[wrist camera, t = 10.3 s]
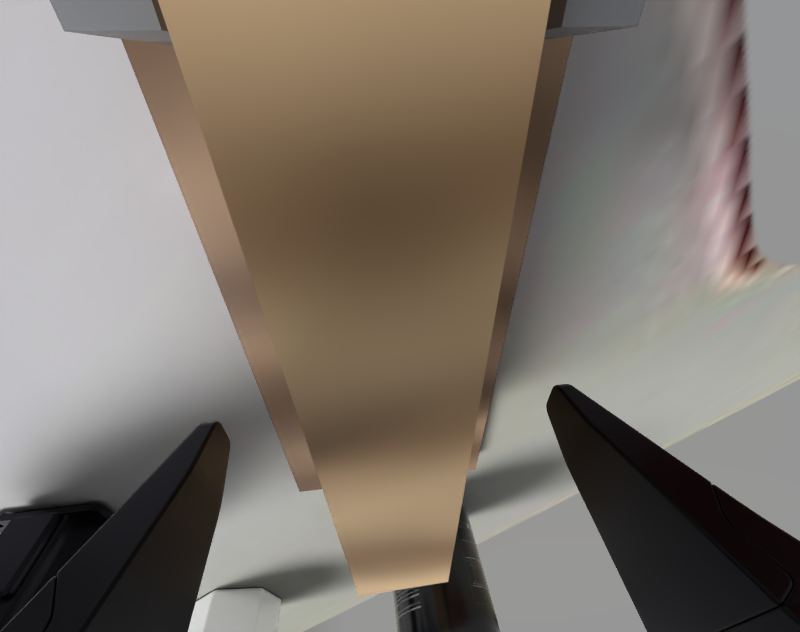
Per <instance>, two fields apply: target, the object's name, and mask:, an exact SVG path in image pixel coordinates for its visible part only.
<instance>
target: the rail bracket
mask: <svg viewBox="0 0 800 632" xmlns="http://www.w3.org/2000/svg"><path fill="white" fill-rule="evenodd" d="M50 2H51V4H52V6H53V8H54V10H55V12H56V15H57V17H58V19H59V21H60V23H61V25H62V27H63V30H64V31H67V32H75V33H82V34H90V35H98V36H105V37H113V38H120V39H122V42H123V44H124V47H125V50H126V52H127V55H128V57H129V60H130V62H131V65H132V67H133V70H134V72H135V75H136V77H137V80H138V83H139V85H140V88H141V90H142V93H143V95H144V98H145V100H146V103H147V105H148V108H149V110H150V113H151V115H152V118H153V121H154V123H155V126H156V128H157V131H158V133H159V136H160V138H161V141H162V143H163V146H164V148H165V151H166V153H167V156H168V159H169V161H170V164H171V166H172V169H173V171H174V174H175V176H176V179H177V181H178V184H179V186H180V189H181V192H182V194H183V197H184V199H185V202H186V204H187V207H188V209H189V212H190V214H191V217H192V219H193V222H194V224H195V227H196V230H197V232H198V235H199V237H200V240H201V242H202V245H203V247H204V250H205V252H206V255H207V257H208V260H209V263H210V265H211V268H212V270H213V273H214V275H215V278H216V280H217V283H218V285H219V288H220V290H221V293H222V295H223V298H224V301H225V303H226V306H227V308H228V311H229V313H230V316H231V318H232V321H233V323H234V326H235V328H236V331H237V333H238V336H239V339H240V341H241V344H242V346H243V349H244V351H245V354H246V356H247V359H248V361H249V364H250V366H251V369H252V372H253V374H254V377H255V379H256V382H257V384H258V387H259V389H260V392H261V394H262V397H263V399H264V402H265V404H266V407H267V410H268V412H269V415H270V417H271V420H272V422H273V425H274V427H275V430H276V432H277V435H278V437H279V440H280V442H281V445H282V448H283V450H284V453H285V455H286V458H287V460H288V463H289V465H290V468H291V470H292V473H293V475H294V478H295V481H296V483H297V486H298V488H299V491H300V492H301V491H309V490H317V489H322V486H321V483H320V480H319V477H318V474H317V471H316V468H315V465H314V462H313V459H312V456H311V453H310V451H309V448H308V445H307V442H306V439H305V436H304V433H303V430H302V427H301V424H300V421H299V418H298V415H297V412H296V409H295V406H294V403H293V400H292V397H291V394H290V391H289V388H288V385H287V382H286V379H285V376H284V373H283V370H282V367H281V364H280V361H279V358H278V356H277V353H276V350H275V347H274V344H273V341H272V338H271V335H270V332H269V329H268V326H267V323H266V320H265V317H264V314H263V311H262V308H261V305H260V302H259V299H258V296H257V293H256V290H255V287H254V284H253V281H252V278H251V275H250V272H249V269H248V266H247V264H246V261H245V258H244V255H243V252H242V249H241V246H240V243H239V240H238V237H237V234H236V231H235V228H234V225H233V222H232V219H231V216H230V213H229V210H228V207H227V204H226V201H225V198H224V195H223V192H222V189H221V186H220V183H219V180H218V177H217V174H216V171H215V169H214V166H213V163H212V160H211V157H210V154H209V151H208V148H207V145H206V142H205V139H204V136H203V133H202V130H201V127H200V124H199V121H198V118H197V115H196V112H195V109H194V106H193V103H192V100H191V97H190V94H189V91H188V88H187V85H186V82H185V79H184V77H183V74H182V71H181V68H180V65H179V62H178V59H177V56H176V53H175V50H174V47H173V44H172V41H171V38H170V35H169V32H168V29H167V26H166V23H165V20H164V17H163V14H162V11H161V8H160V5H159V2H158V0H50ZM644 3H645V0H551V3H550V9H549V14H548V20H547V26H546V31H545V37H544V43H543V48H542V54H541V60H540V65H539V71H538V77H537V82H536V88H535V94H534V99H533V105H532V111H531V116H530V122H529V127H528V133H527V139H526V144H525V150H524V156H523V161H522V167H521V173H520V178H519V184H518V190H517V195H516V201H515V207H514V212H513V218H512V224H511V229H510V235H509V241H508V246H507V252H506V257H505V263H504V269H503V274H502V280H501V286H500V291H499V297H498V303H497V308H496V314H495V320H494V325H493V331H492V337H491V342H490V348H489V354H488V359H487V365H486V371H485V376H484V382H483V388H482V393H481V399H480V404H479V410H478V416H477V421H476V427H475V433H474V438H473V444H472V450H471V455H470V461H469V467H468V470H474V469H476V464H477V460H478V455H479V451H480V447H481V442H482V438H483V433H484V429H485V424H486V420H487V415H488V411H489V407H490V402H491V398H492V393H493V389H494V384H495V380H496V375H497V371H498V366H499V362H500V358H501V353H502V349H503V344H504V340H505V335H506V331H507V326H508V322H509V318H510V313H511V309H512V304H513V300H514V295H515V291H516V286H517V282H518V277H519V273H520V269H521V264H522V260H523V255H524V251H525V246H526V242H527V237H528V233H529V228H530V224H531V220H532V215H533V211H534V206H535V202H536V197H537V193H538V188H539V184H540V180H541V175H542V171H543V166H544V162H545V157H546V153H547V148H548V144H549V139H550V135H551V131H552V126H553V122H554V117H555V113H556V108H557V104H558V99H559V95H560V91H561V86H562V82H563V77H564V73H565V68H566V64H567V59H568V55H569V50H570V46H571V42H572V37H573V36H574V35H581V34H588V33H595V32H602V31H608V30H615V29H622V28H629V27H636V26H638V22H639V19H640V16H641V13H642V10H643V6H644Z"/></svg>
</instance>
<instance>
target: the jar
mask: <svg viewBox="0 0 800 632" xmlns="http://www.w3.org/2000/svg"><path fill="white" fill-rule="evenodd" d="M280 606H281V599H280V598H278V597H276V596H275V595H273V594H271V593H270V592H268V591H266V590H265V589H263V588H243V589H222V590H214V591H213V592H211V593H209V594H208V595H206V596H204V597H203V598H201V599H199V600H198V601H196V603H195V606H194V610H193V614H192V618H191V621H190V625H189V629H188V632H277V630H278V622H279V614H280Z"/></svg>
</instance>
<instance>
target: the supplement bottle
mask: <svg viewBox="0 0 800 632" xmlns="http://www.w3.org/2000/svg"><path fill="white" fill-rule="evenodd" d="M393 593H394V603H395V613H396V624H397V632H500V629H499V626H498V621H497V618H496V614H495V611H494V607H493V604H492V600H491V597H490V593H489V589H488V586H487V582H486V578H485V575H484V571H483V568H482V564H481V561H480V557H479V554H478V550H477V547H476V543H475V539H474V536H473V532H472V529H471V525H470V521H469V518H468V515H467V511H466V509H465V506H464V505H463V504H462V506H461V512H460V518H459V523H458V529H457V534H456V540H455V546H454V551H453V557H452V563H451V568H450V574H449V580H448V582H444V583H438V584H432V585H426V586H419V587H413V588H407V589H401V590H394V591H393Z"/></svg>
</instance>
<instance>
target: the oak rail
mask: <svg viewBox="0 0 800 632" xmlns="http://www.w3.org/2000/svg"><path fill="white" fill-rule="evenodd" d="M158 2H159V5H160V8H161V11H162V14H163V17H164V20H165V23H166V26H167V29H168V32H169V35H170V38H171V41H172V44H173V47H174V50H175V53H176V56H177V59H178V62H179V65H180V68H181V71H182V74H183V77H184V79H185V82H186V85H187V88H188V91H189V94H190V97H191V100H192V103H193V106H194V109H195V112H196V115H197V118H198V121H199V124H200V127H201V130H202V133H203V136H204V139H205V142H206V145H207V148H208V151H209V154H210V157H211V160H212V163H213V166H214V169H215V171H216V174H217V177H218V180H219V183H220V186H221V189H222V192H223V195H224V198H225V201H226V204H227V207H228V210H229V213H230V216H231V219H232V222H233V225H234V228H235V231H236V234H237V237H238V240H239V243H240V246H241V249H242V252H243V255H244V258H245V261H246V264H247V266H248V269H249V272H250V275H251V278H252V281H253V284H254V287H255V290H256V293H257V296H258V299H259V302H260V305H261V308H262V311H263V314H264V317H265V320H266V323H267V326H268V329H269V332H270V335H271V338H272V341H273V344H274V347H275V350H276V353H277V356H278V358H279V361H280V364H281V367H282V370H283V373H284V376H285V379H286V382H287V385H288V388H289V391H290V394H291V397H292V400H293V403H294V406H295V409H296V412H297V415H298V418H299V421H300V424H301V427H302V430H303V433H304V436H305V439H306V442H307V445H308V448H309V451H310V453H311V456H312V459H313V462H314V465H315V468H316V471H317V474H318V477H319V480H320V483H321V486H322V489H323V492H324V495H325V498H326V501H327V504H328V507H329V510H330V513H331V516H332V519H333V522H334V525H335V528H336V531H337V534H338V537H339V540H340V543H341V545H342V548H343V551H344V554H345V557H346V560H347V563H348V566H349V569H350V572H351V575H352V578H353V581H354V584H355V587H356V590H357V593H358V596H363V595H369V594H376V593H382V592H388V591H394V590H401V589H407V588H413V587H419V586H426V585H432V584H438V583H444V582H448V580H449V574H450V568H451V563H452V557H453V551H454V546H455V540H456V534H457V529H458V523H459V518H460V512H461V506H462V501H463V495H464V489H465V484H466V478H467V472H468V467H469V461H470V455H471V450H472V444H473V438H474V433H475V427H476V421H477V416H478V410H479V404H480V399H481V393H482V388H483V382H484V376H485V371H486V365H487V359H488V354H489V348H490V342H491V337H492V331H493V325H494V320H495V314H496V308H497V303H498V297H499V291H500V286H501V280H502V274H503V269H504V263H505V257H506V252H507V246H508V241H509V235H510V229H511V224H512V218H513V212H514V207H515V201H516V195H517V190H518V184H519V178H520V173H521V167H522V161H523V156H524V150H525V144H526V139H527V133H528V127H529V122H530V116H531V111H532V105H533V99H534V94H535V88H536V82H537V77H538V71H539V65H540V60H541V54H542V48H543V43H544V37H545V31H546V26H547V20H548V14H549V9H550V3H551V0H158Z"/></svg>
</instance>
